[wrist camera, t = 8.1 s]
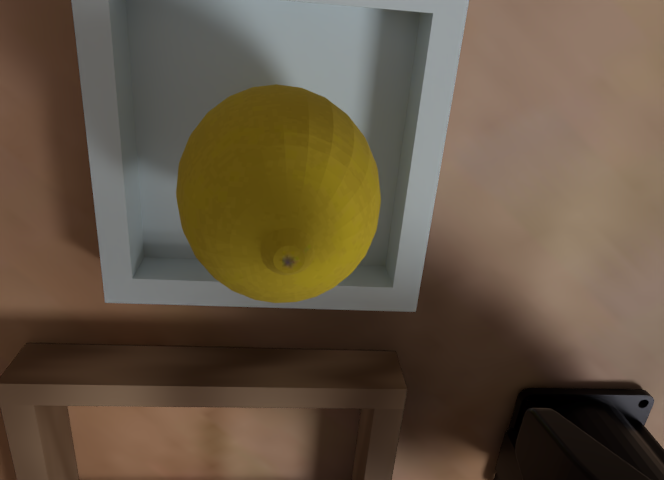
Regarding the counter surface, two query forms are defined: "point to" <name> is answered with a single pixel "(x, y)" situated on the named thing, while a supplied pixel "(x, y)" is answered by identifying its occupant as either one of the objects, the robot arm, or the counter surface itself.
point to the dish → (243, 73)
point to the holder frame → (194, 393)
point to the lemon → (278, 193)
